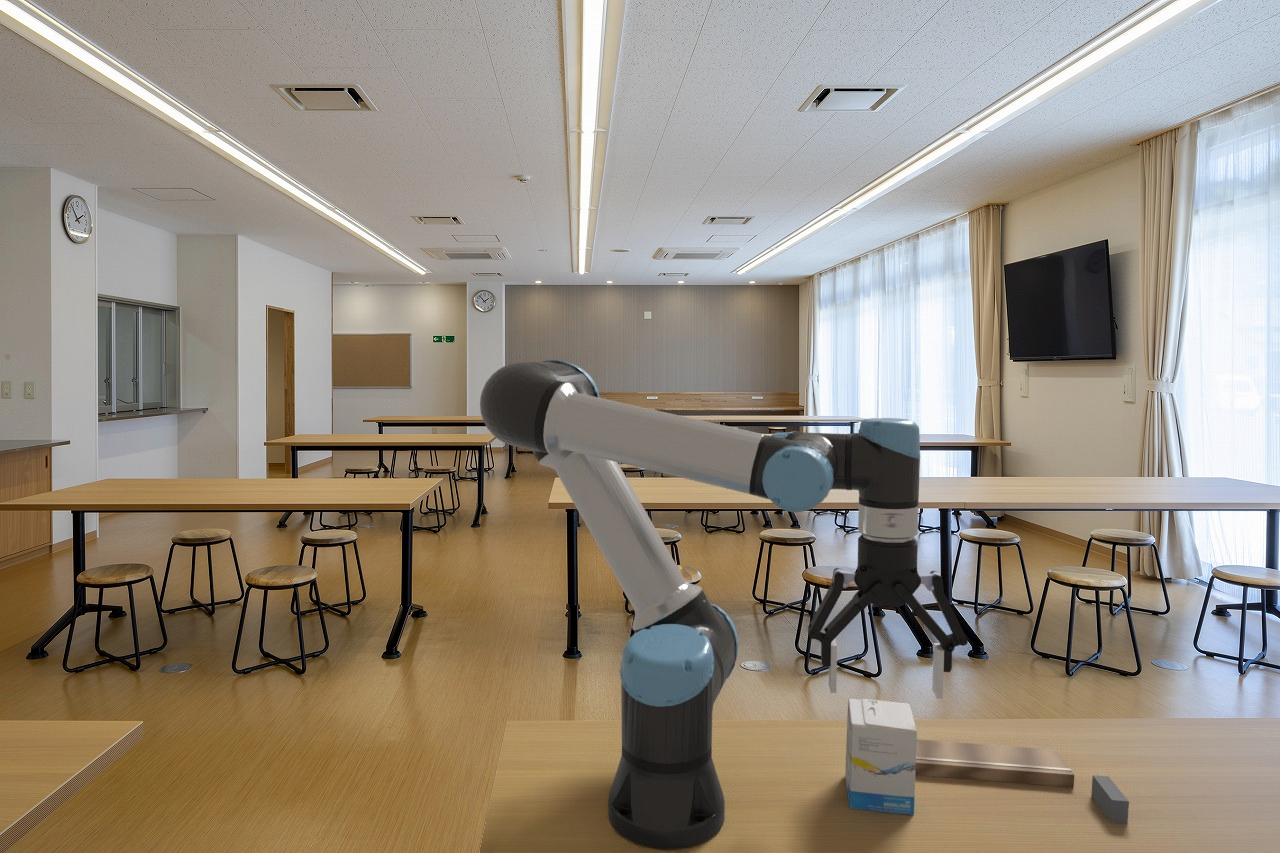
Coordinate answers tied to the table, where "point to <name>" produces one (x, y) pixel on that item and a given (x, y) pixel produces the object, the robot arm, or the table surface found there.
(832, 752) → the table surface
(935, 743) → the board
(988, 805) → the table surface
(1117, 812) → the block
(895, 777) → the ink box
